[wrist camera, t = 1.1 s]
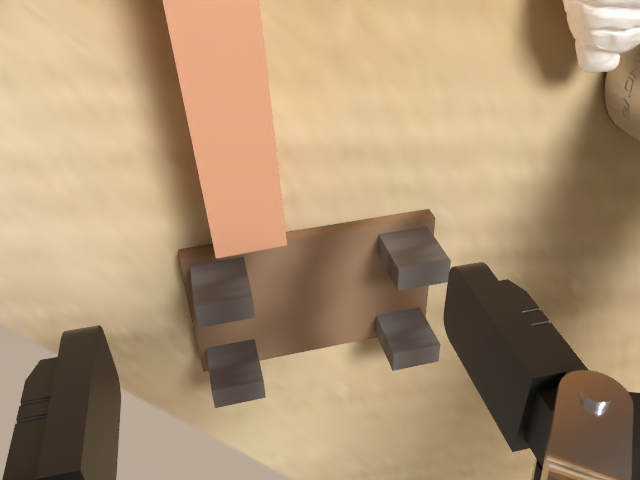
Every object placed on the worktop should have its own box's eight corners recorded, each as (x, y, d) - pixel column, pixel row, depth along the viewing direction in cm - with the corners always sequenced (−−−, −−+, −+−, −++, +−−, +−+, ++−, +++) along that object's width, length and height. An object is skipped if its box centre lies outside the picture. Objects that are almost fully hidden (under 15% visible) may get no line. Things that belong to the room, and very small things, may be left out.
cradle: (428, 209, 36) (460, 252, 32) (418, 317, 41) (444, 365, 38) (178, 249, 33) (182, 301, 30) (202, 360, 39) (207, 415, 35)
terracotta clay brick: (226, -149, 24) (242, -142, 20) (270, 194, 33) (287, 245, 29) (136, -141, 23) (135, -133, 19) (207, 205, 32) (215, 258, 28)
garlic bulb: (525, 63, 32) (584, 101, 27) (543, -60, 28) (615, -38, 24) (615, 50, 33) (687, 84, 28) (644, -72, 29) (731, -53, 25)
